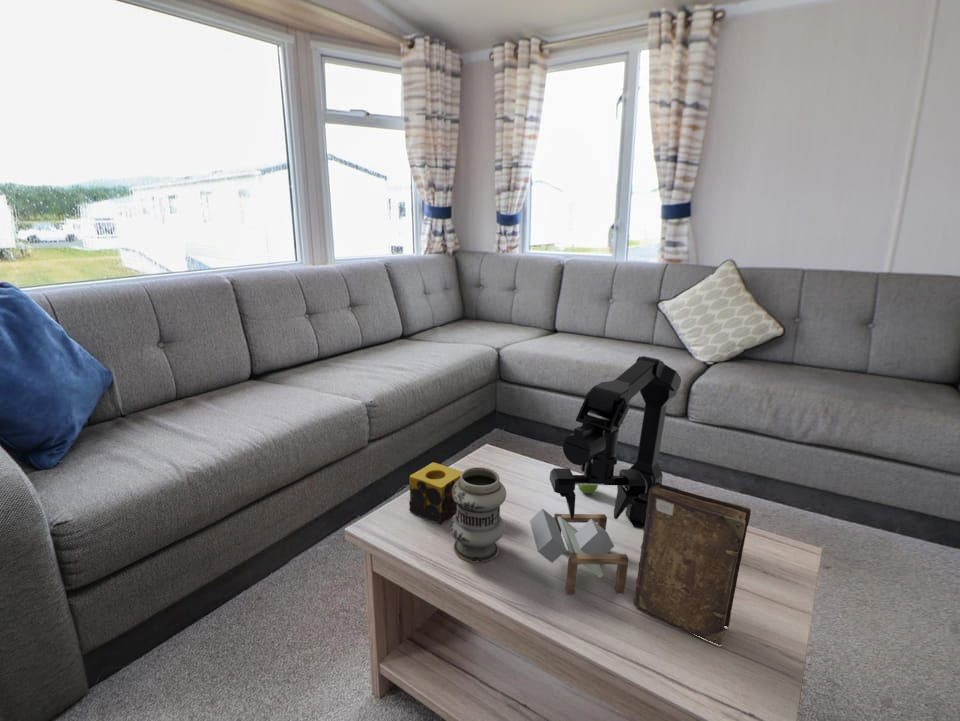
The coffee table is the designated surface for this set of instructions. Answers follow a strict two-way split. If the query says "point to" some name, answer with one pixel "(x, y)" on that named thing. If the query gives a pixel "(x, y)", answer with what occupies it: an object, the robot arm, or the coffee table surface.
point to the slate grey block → (593, 539)
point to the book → (690, 560)
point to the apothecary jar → (477, 514)
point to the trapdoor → (556, 538)
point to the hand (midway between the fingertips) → (593, 518)
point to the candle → (433, 492)
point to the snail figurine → (587, 488)
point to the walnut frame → (593, 555)
